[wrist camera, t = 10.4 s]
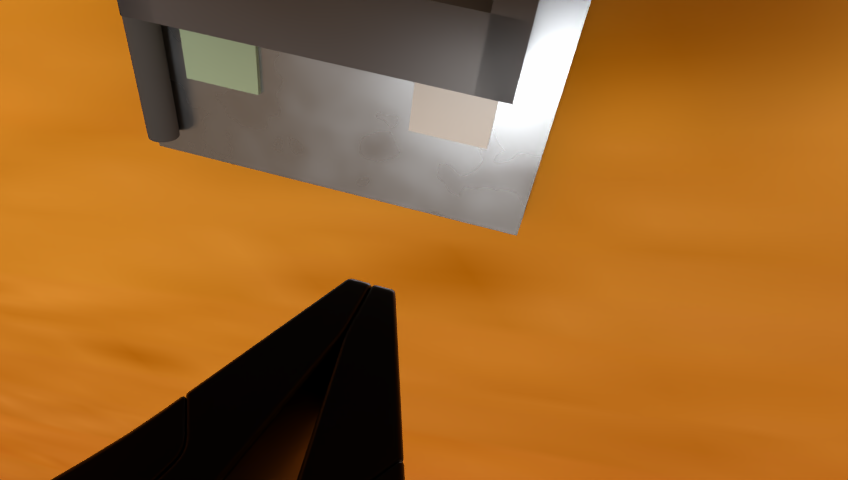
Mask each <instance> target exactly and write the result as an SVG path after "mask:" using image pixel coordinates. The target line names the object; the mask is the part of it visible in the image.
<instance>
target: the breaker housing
mask: <svg viewBox="0 0 848 480" xmlns="http://www.w3.org/2000/svg"><path fill="white" fill-rule="evenodd" d="M117 2H118V6H119V11H120V15H121V16H125V17H130V18H134V19H138V20H143V21H147V22H152V23H156V24H160V25H165V26H169V27H174V28H178V29H179V30H180V37H181V43H182V50H183V56H184V63H185V69H186V76H187V78H188V79H192V80H197V81H201V82H205V83H209V84H214V85H218V86H222V87H226V88H230V89H235V90H239V91H243V92H247V93H251V94H256V95H259V94H261V85H260V69H259V53H258V47H262V48H266V49H270V50H275V51H279V52H284V53H288V54H292V55H297V56H301V57H306V58H310V59H314V60H319V61H323V62H328V63H332V64H336V65H341V66H345V67H350V68H354V69H358V70H363V71H367V72H372V73H376V74H380V75H385V76H389V77H394V78H398V79H402V80H407V81H411V82H415V84H414V92H413V99H412V107H411V115H410V123H409V130H408V131H412V132H416V133H420V134H424V135H429V136H433V137H437V138H441V139H446V140H450V141H454V142H458V143H462V144H467V145H471V146H475V147H479V148H484V149H487V147H488V143H489V139H490V135H491V131H492V126H493V122H494V118H495V114H496V110H497V105H498V101H499V102H504V103H508V104H512V105H513V101H514V97H515V93H516V89H517V85H518V81H519V78H520V74H521V70H522V66H523V62H524V58H525V54H526V50H527V47H528V43H529V39H530V35H531V31H532V27H533V23H534V19H535V16H536V12H537V8H538V4H539V0H117Z"/></svg>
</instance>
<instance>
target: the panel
mask: <svg viewBox="0 0 848 480" xmlns="http://www.w3.org/2000/svg"><path fill="white" fill-rule="evenodd" d="M590 2H591V0H539V4H538V8H537V12H536V16H535V19H534V23H533V27H532V31H531V35H530V39H529V43H528V47H527V50H526V54H525V58H524V62H523V66H522V70H521V74H520V78H519V81H518V85H517V89H516V93H515V97H514V101H513V105H512V104H508V103H504V102H499V101H498V105H497V110H496V114H495V118H494V122H493V126H492V131H491V135H490V139H489V143H488V147H487V149H484V148H479V147H475V146H471V145H467V144H462V143H458V142H454V141H450V140H446V139H441V138H437V137H433V136H429V135H424V134H420V133H416V132H412V131H408V130H409V123H410V115H411V107H412V99H413V92H414V84H415V82H411V81H407V80H402V79H398V78H394V77H389V76H385V75H380V74H376V73H372V72H367V71H363V70H358V69H354V68H350V67H345V66H341V65H336V64H332V63H328V62H323V61H319V60H314V59H310V58H306V57H301V56H297V55H292V54H288V53H284V52H279V51H275V50H270V49H266V48H262V47H258V53H259V69H260V85H261V94H259V95H256V94H251V93H247V92H243V91H239V90H235V89H230V88H226V87H222V86H218V85H214V84H209V83H205V82H201V81H197V80H192V79H188V78H187V76H186V69H185V63H184V56H183V50H182V43H181V37H180V30H179V29H178V28H174V27H169V26H165V25H161V30H162V35H163V41H164V47H165V52H166V58H167V64H168V69H169V75H170V81H171V87H172V92H173V98H174V104H175V109H176V115H177V121H178V127H179V132H180V136H179V137H178V138H177V139H176V140H173V141H170V142H159V143H160V146H164V147H168V148H172V149H176V150H180V151H184V152H188V153H192V154H196V155H200V156H204V157H208V158H211V159H215V160H219V161H223V162H227V163H231V164H235V165H239V166H243V167H247V168H251V169H255V170H259V171H263V172H267V173H271V174H275V175H279V176H283V177H287V178H291V179H295V180H299V181H303V182H307V183H311V184H315V185H318V186H322V187H326V188H330V189H334V190H338V191H342V192H346V193H350V194H354V195H358V196H362V197H366V198H370V199H374V200H378V201H382V202H386V203H390V204H394V205H398V206H402V207H406V208H410V209H414V210H418V211H422V212H426V213H429V214H433V215H437V216H441V217H445V218H449V219H453V220H457V221H461V222H465V223H469V224H473V225H477V226H481V227H485V228H489V229H493V230H497V231H501V232H505V233H509V234H513V235H517V233H518V230H519V227H520V224H521V220H522V217H523V214H524V211H525V208H526V205H527V201H528V198H529V195H530V192H531V189H532V186H533V183H534V179H535V176H536V173H537V170H538V167H539V164H540V160H541V157H542V154H543V151H544V148H545V145H546V141H547V138H548V135H549V132H550V129H551V126H552V122H553V119H554V116H555V113H556V110H557V107H558V104H559V100H560V97H561V94H562V91H563V88H564V85H565V81H566V78H567V75H568V72H569V69H570V66H571V62H572V59H573V56H574V53H575V50H576V47H577V43H578V40H579V37H580V34H581V31H582V28H583V25H584V21H585V18H586V15H587V12H588V9H589V6H590Z"/></svg>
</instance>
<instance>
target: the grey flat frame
mask: <svg viewBox="0 0 848 480" xmlns="http://www.w3.org/2000/svg"><path fill="white" fill-rule="evenodd" d="M122 19H123V23H124V28H125V32H126V37H127V42H128V46H129V51H130V55H131V60H132V65H133V69H134V74H135V78H136V83H137V87H138V92H139V97H140V101H141V106H142V110H143V115H144V120H145V124H146V129H147V133H148V137H149V139H150V140H152V141H155V142H170V141H173V140H176V139H177V138H178V137H179V136H180V132H179V127H178V121H177V115H176V109H175V104H174V98H173V92H172V87H171V81H170V75H169V69H168V64H167V58H166V52H165V47H164V41H163V35H162V30H161V25H160V24H156V23H152V22H147V21H143V20H138V19H134V18H130V17H125V16H122Z"/></svg>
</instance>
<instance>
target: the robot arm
mask: <svg viewBox="0 0 848 480" xmlns="http://www.w3.org/2000/svg"><path fill="white" fill-rule="evenodd" d="M52 480H405V476H404V464H403V440H402V420H401V399H400V379H399V359H398V338H397V318H396V298H395V292H394V290H392V289H388V288H385V287H381V286H377V285H374V286H372V287H371V285H370V284H369V283H366V282H362V281H358V280H355V279H348V280H346V281H345V282H343V283H342V284H340V285H339V286H338V287H336V288H335V289H333V290H332V291H331V292H329V293H328V294H326V295H325V296H324V297H322V298H321V299H319V300H318V301H316V302H315V303H314V304H312V305H311V306H309V307H308V308H307V309H305V310H304V311H302V312H301V313H300V314H298V315H297V316H295V317H294V318H292V319H291V320H290V321H288V322H287V323H285V324H284V325H283V326H281V327H280V328H278V329H277V330H276V331H274V332H273V333H271V334H270V335H269V336H267V337H266V338H264V339H263V340H261V341H260V342H259V343H257V344H256V345H254V346H253V347H252V348H250V349H249V350H247V351H246V352H245V353H243V354H242V355H240V356H239V357H237V358H236V359H235V360H233V361H232V362H230V363H229V364H228V365H226V366H225V367H223V368H222V369H221V370H219V371H218V372H216V373H215V374H213V375H212V376H211V377H209V378H208V379H206V380H205V381H204V382H202V383H201V384H199V385H198V386H197V387H195V388H194V389H192V390H191V391H189V392H188V393H187V395H186V397H184V396H183V397H181V398H179V399H178V400H176V401H175V402H174V403H172V404H171V405H169V406H168V407H167V408H165V409H164V410H162V411H161V412H159V413H158V414H156V415H155V416H154V417H152V418H151V419H149V420H148V421H146V422H145V423H143V424H142V425H140V426H139V427H137V428H136V429H134V430H133V431H131V432H130V433H128V434H127V435H125V436H123V437H122V438H120V439H119V440H117V441H115V442H114V443H112V444H110V445H109V446H107V447H105V448H104V449H102V450H101V451H99V452H97V453H96V454H94V455H92V456H91V457H89V458H87V459H86V460H84V461H82V462H81V463H79V464H77V465H76V466H74V467H72V468H70V469H69V470H67V471H65V472H64V473H62V474H60V475H58V476H57V477H55V478H53V479H52Z"/></svg>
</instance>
